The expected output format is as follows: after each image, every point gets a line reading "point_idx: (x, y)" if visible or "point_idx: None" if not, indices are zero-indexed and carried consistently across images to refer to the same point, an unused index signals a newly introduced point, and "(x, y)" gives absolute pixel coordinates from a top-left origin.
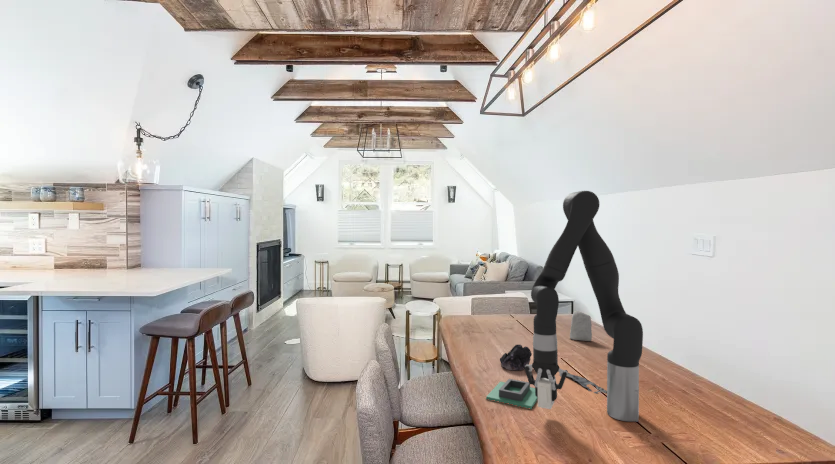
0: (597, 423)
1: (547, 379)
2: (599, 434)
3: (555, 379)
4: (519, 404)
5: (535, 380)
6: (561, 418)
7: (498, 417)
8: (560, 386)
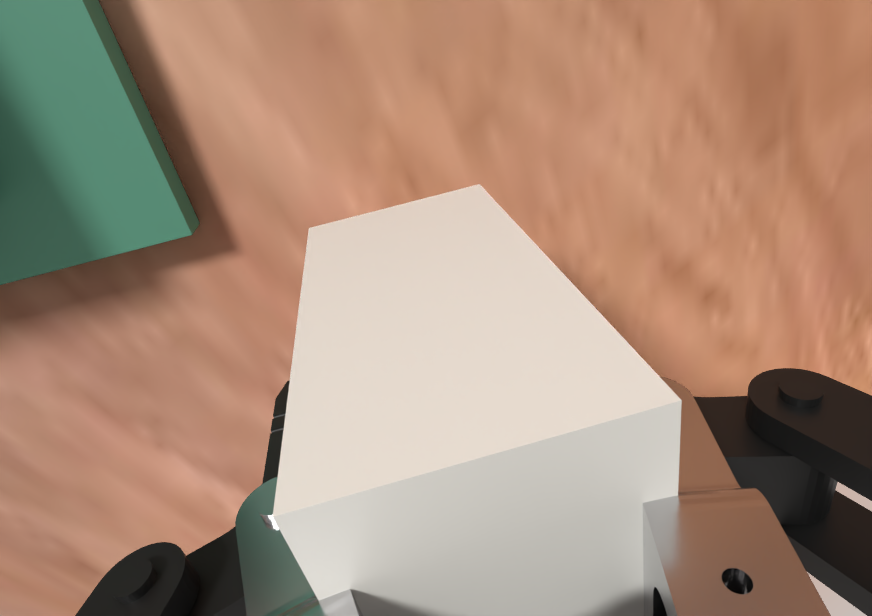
0: (844, 48)
1: (547, 594)
2: (842, 241)
3: (754, 511)
4: (44, 270)
5: (236, 609)
6: (535, 195)
7: (115, 543)
8: (811, 527)
